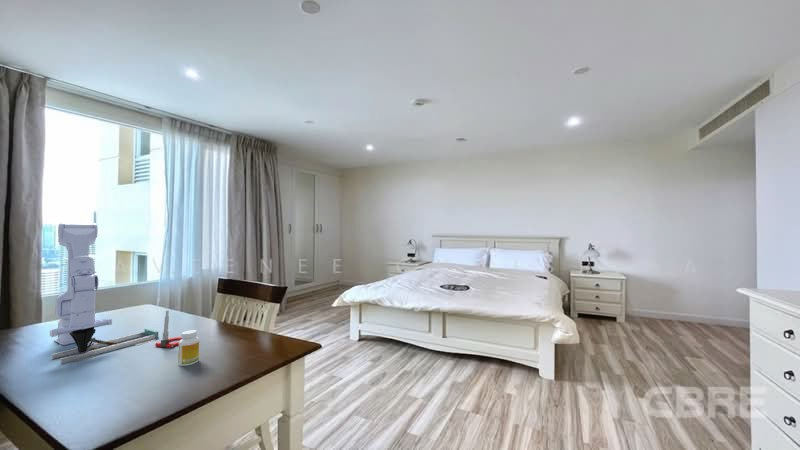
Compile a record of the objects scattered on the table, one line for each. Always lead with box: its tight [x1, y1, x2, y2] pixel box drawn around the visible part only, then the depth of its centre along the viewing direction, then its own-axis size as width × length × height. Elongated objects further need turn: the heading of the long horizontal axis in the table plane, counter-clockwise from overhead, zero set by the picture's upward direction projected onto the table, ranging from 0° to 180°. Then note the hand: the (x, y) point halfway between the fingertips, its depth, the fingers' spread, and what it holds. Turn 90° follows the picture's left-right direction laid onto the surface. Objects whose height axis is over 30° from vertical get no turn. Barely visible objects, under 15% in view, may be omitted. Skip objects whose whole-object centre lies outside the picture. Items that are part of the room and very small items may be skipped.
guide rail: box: [51, 327, 159, 365], centre depth 108 cm, size 10×26×2 cm, turn 153°
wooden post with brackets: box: [86, 337, 119, 352], centre depth 106 cm, size 2×8×4 cm, turn 132°
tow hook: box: [154, 309, 182, 349], centre depth 114 cm, size 8×13×9 cm
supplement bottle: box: [177, 329, 200, 367], centre depth 97 cm, size 5×5×10 cm
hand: (82, 351), depth 102 cm, fingers closed
